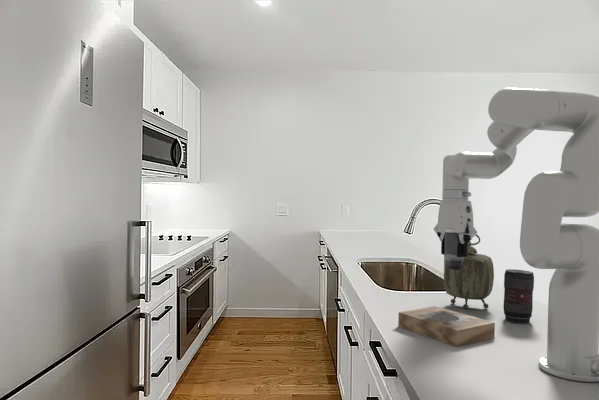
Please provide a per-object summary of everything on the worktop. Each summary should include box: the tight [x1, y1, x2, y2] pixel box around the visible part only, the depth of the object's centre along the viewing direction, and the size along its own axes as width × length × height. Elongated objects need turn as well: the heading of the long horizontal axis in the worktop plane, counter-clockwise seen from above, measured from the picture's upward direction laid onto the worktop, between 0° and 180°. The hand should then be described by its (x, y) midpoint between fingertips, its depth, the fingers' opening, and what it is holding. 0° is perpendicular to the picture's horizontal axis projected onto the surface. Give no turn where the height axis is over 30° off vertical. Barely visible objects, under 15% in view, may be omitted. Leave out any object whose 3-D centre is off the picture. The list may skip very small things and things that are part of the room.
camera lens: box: [503, 268, 535, 325], centre depth 141 cm, size 8×8×15 cm
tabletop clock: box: [443, 233, 495, 310], centre depth 156 cm, size 14×9×25 cm, turn 57°
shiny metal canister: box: [443, 229, 464, 270], centre depth 143 cm, size 6×6×12 cm
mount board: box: [397, 305, 496, 348], centre depth 128 cm, size 20×15×4 cm
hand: (453, 254), depth 143 cm, fingers closed on shiny metal canister, 5 cm apart
